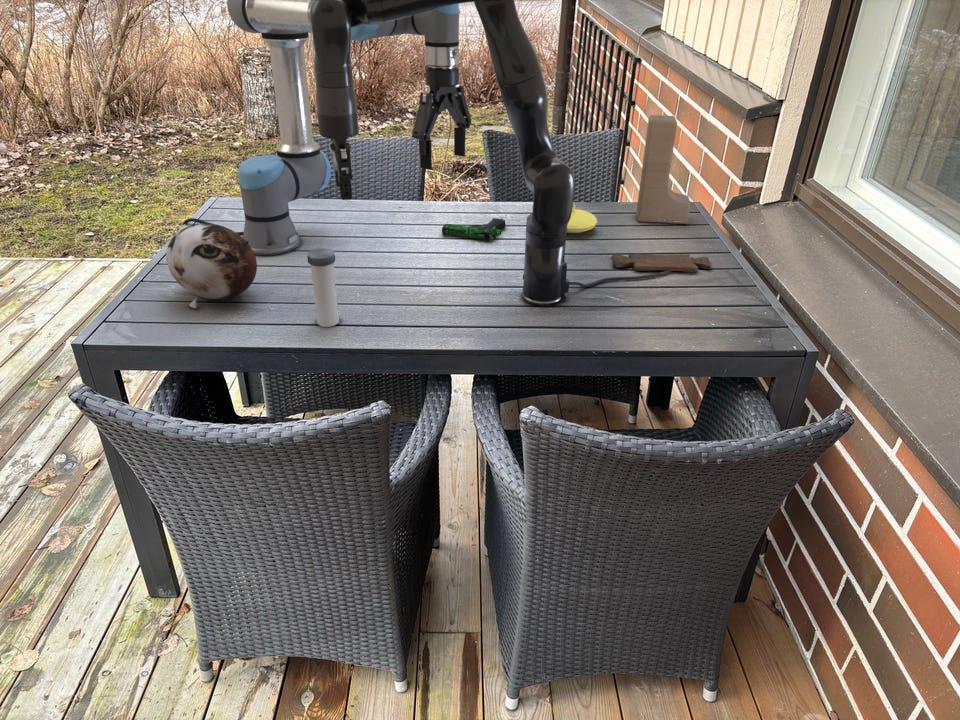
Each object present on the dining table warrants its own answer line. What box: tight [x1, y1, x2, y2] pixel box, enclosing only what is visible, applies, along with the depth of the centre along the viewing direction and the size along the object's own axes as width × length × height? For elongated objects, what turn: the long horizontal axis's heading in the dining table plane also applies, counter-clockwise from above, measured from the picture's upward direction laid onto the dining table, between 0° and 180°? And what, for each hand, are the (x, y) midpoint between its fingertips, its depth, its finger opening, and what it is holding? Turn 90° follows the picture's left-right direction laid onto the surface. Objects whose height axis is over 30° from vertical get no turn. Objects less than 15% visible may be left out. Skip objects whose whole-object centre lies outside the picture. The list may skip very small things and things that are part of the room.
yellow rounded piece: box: [566, 204, 598, 234], centre depth 209 cm, size 16×16×7 cm
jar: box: [310, 263, 340, 328], centre depth 155 cm, size 5×5×16 cm
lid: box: [307, 248, 336, 266], centre depth 151 cm, size 6×6×2 cm
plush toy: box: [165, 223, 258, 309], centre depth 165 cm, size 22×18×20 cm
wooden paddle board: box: [611, 252, 711, 273], centre depth 188 cm, size 26×2×10 cm
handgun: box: [441, 217, 506, 242], centre depth 207 cm, size 16×3×15 cm
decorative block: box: [635, 114, 692, 225], centre depth 212 cm, size 8×15×30 cm, turn 82°
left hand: (443, 161), depth 169 cm, fingers open, 13 cm apart
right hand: (344, 192), depth 145 cm, fingers open, 8 cm apart
